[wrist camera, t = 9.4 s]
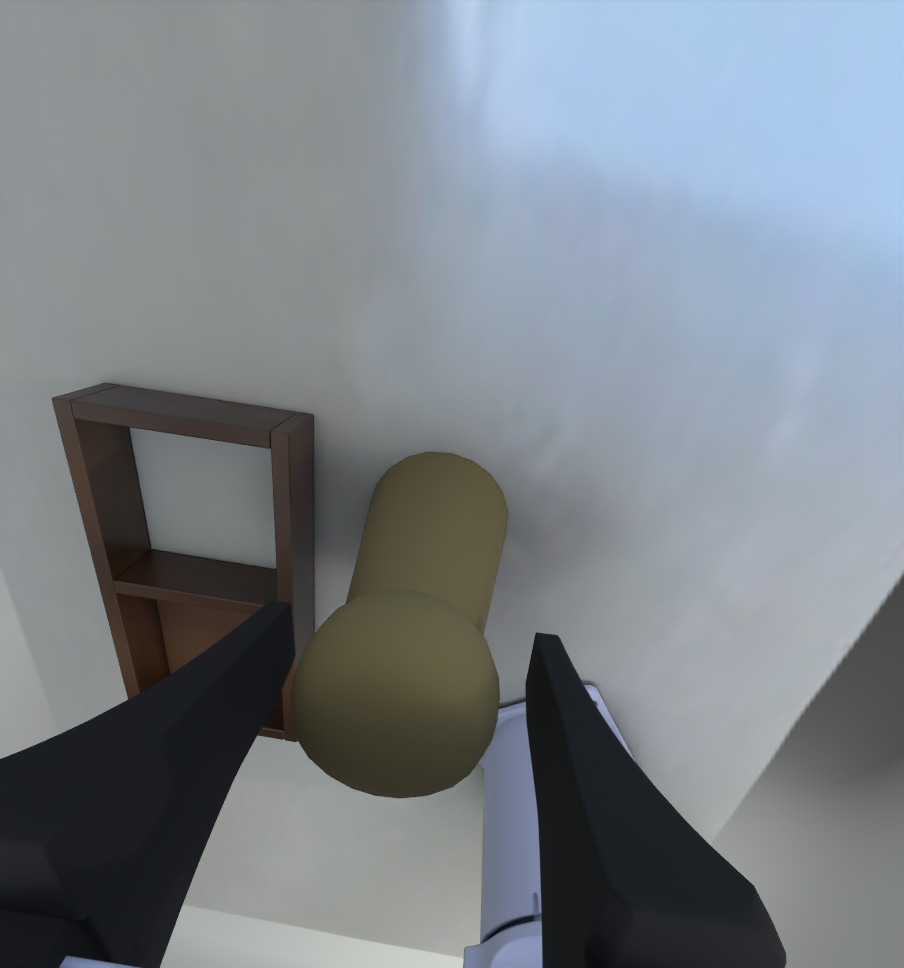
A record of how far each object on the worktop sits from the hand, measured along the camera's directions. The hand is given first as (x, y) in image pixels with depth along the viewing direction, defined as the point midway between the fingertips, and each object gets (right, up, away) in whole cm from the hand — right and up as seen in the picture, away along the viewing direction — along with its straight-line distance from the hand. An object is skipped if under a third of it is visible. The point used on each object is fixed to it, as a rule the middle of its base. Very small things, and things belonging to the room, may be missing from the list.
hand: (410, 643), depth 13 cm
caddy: (-10, +1, +9) cm, 13 cm away
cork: (+1, +3, +7) cm, 8 cm away
